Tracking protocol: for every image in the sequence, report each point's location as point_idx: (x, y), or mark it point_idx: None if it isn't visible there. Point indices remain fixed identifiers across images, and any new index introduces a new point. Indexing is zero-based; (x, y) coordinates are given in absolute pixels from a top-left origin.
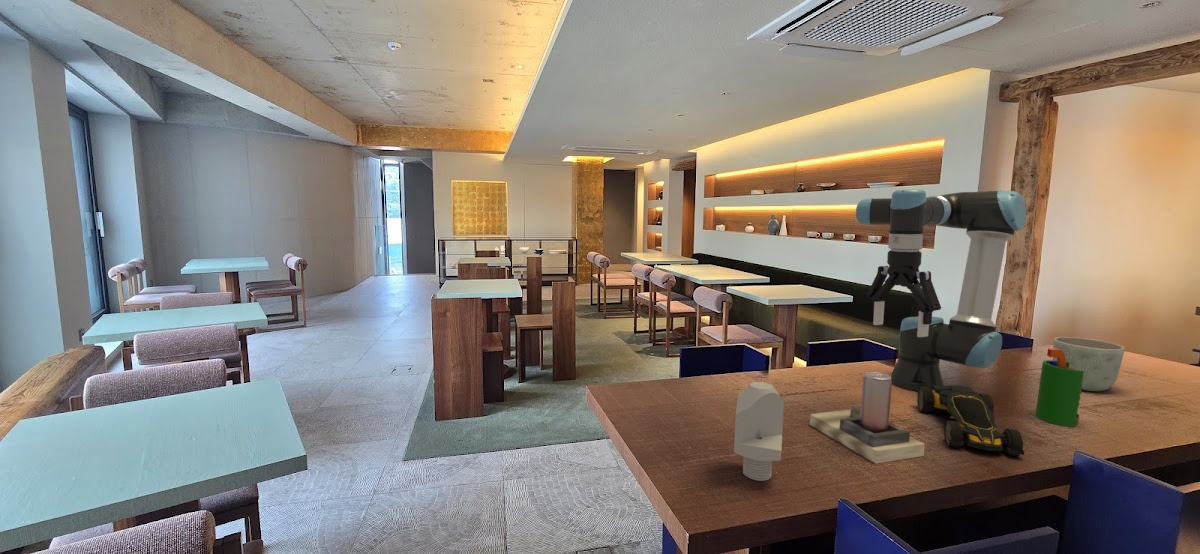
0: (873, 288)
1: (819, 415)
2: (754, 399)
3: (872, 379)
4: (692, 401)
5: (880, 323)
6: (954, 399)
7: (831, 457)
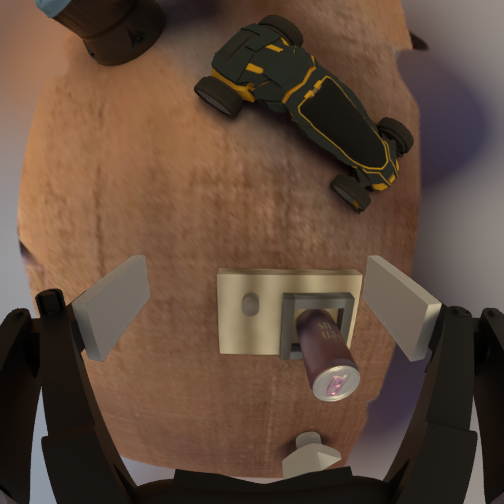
0: (35, 405)
1: (228, 345)
2: None
3: (340, 397)
4: (129, 410)
5: (145, 273)
6: (306, 114)
7: None
